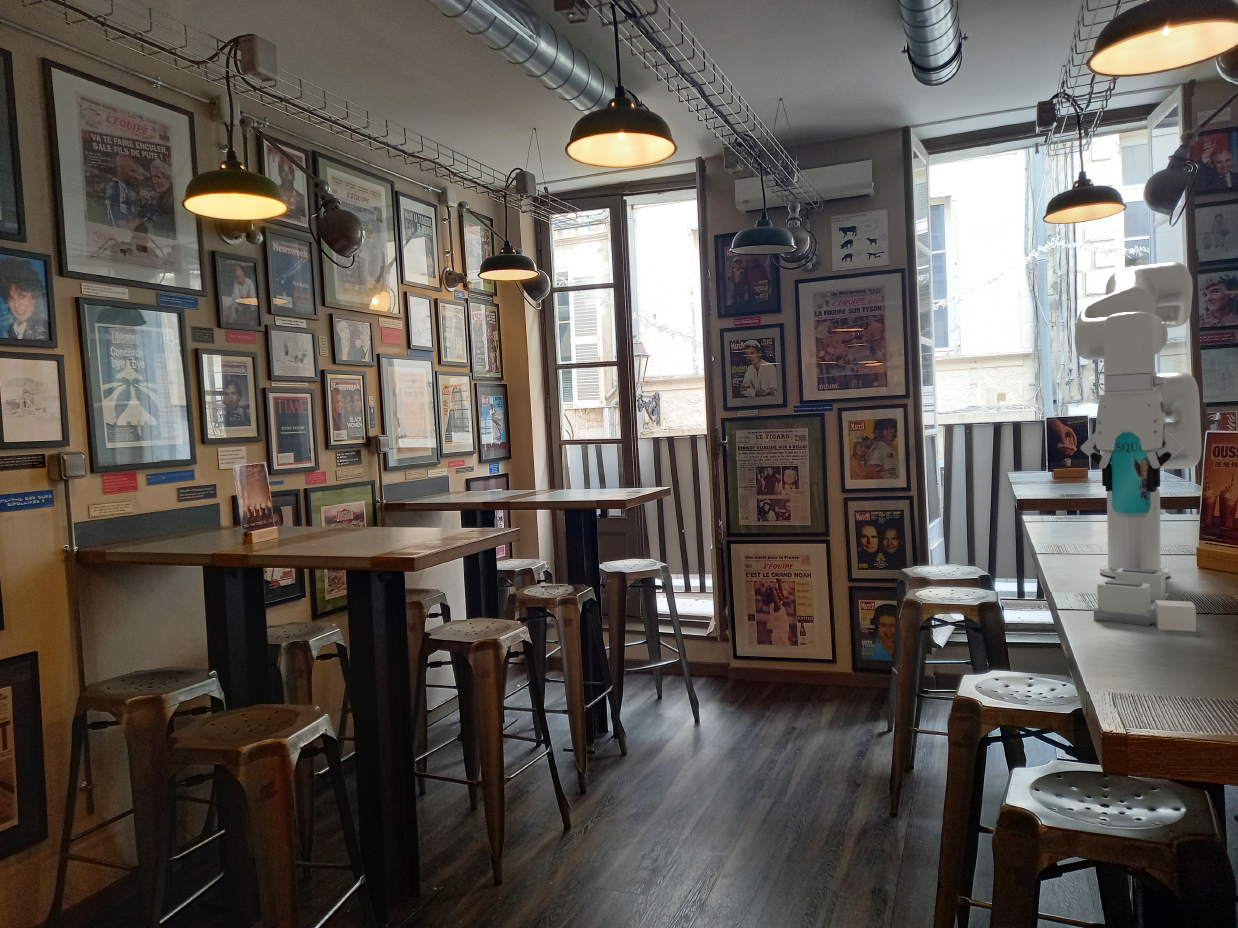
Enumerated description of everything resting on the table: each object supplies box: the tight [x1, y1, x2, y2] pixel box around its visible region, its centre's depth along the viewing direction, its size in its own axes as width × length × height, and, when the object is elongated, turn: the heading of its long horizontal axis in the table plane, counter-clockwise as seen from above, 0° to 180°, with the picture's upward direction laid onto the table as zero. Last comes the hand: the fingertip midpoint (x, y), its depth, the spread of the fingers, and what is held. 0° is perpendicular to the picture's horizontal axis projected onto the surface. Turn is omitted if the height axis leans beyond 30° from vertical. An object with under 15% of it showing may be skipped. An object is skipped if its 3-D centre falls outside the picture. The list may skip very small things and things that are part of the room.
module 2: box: [1114, 568, 1166, 600], centre depth 154 cm, size 4×7×5 cm, turn 49°
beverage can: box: [1111, 430, 1151, 518], centre depth 148 cm, size 6×6×15 cm
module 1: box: [1096, 579, 1151, 615], centre depth 144 cm, size 4×7×5 cm, turn 48°
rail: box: [1093, 592, 1170, 627], centre depth 149 cm, size 18×8×2 cm, turn 139°
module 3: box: [1154, 600, 1197, 632], centre depth 138 cm, size 4×5×4 cm
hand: (1130, 489), depth 148 cm, fingers closed on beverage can, 5 cm apart
